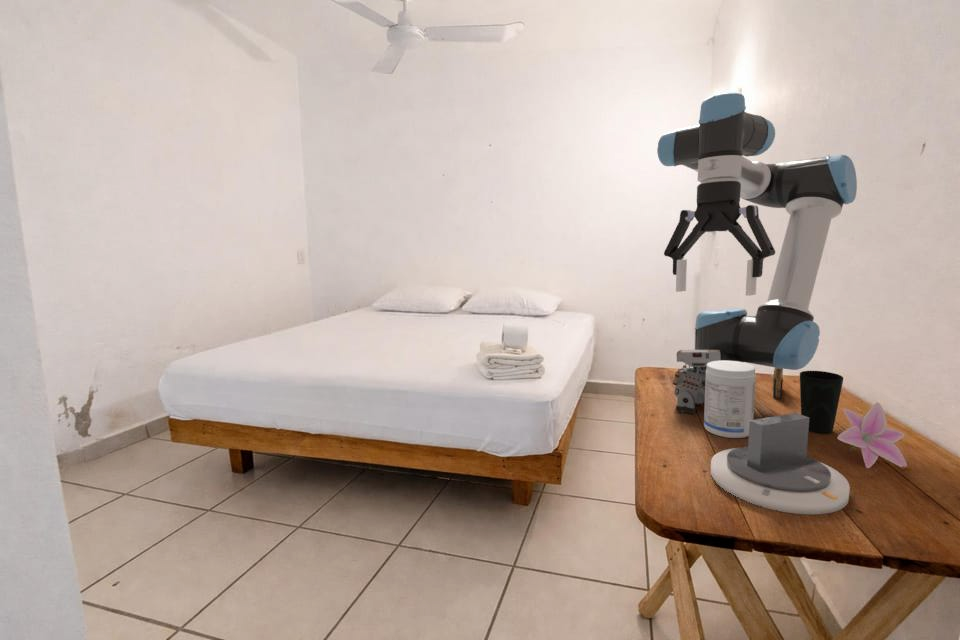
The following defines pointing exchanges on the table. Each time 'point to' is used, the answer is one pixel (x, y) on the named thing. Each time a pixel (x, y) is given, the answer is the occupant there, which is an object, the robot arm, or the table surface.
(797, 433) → the dial
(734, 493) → the dial base
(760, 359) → the robot arm
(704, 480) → the table surface
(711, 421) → the supplement tub
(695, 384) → the figurine
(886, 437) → the lily
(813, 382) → the cup
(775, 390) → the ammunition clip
